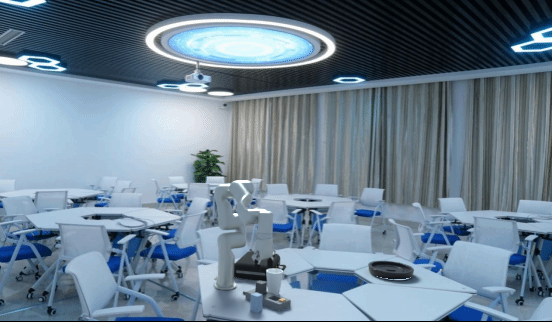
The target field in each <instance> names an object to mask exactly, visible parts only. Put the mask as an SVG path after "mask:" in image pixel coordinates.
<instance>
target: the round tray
mask: <svg viewBox="0 0 552 322" xmlns="http://www.w3.org/2000/svg"><path fill="white" fill-rule="evenodd" d="M368 271H369V273H370V274H371V275H372V274H373V275H375V276H374V277H376V276H378V277H382V278H388V279H406V278H410V277H411V278H412V277H413V276H414V272H415V269H414V267H412V266H410V265H408V264H405V263H402V262H398V261H391V260H374V261H370V262H369V263H368ZM373 275H372V276H373ZM378 277H377V278H378ZM382 278H381V279H382ZM411 278H410V279H411Z"/></svg>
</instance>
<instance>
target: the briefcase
mask: <svg viewBox="0 0 552 322" xmlns="http://www.w3.org/2000/svg"><path fill="white" fill-rule="evenodd" d="M253 254H254V251H252V250H251V251H250V250H249V251H247V252H245V253H244V254H243V256H241V257H240V258H239V259H238V260H237V261H235V265H234V279H235V278H236V279H240V280H241V279H243V280H250V279H251V281H252V280H253V281H259V280H260V281H264V282H267V275H266V270H268V269H271V268H268V267H267V260H269V259H268V258H267V259H263V260H261V262H260V272H255V263H254V262H253V259H252V255H253ZM257 261H258V260H257ZM279 267H282V268H279ZM272 269H280V270H282V271H283V272H284V271H285V270H286V269H287V265H286V264H281V256H280V254H278V253H275V257H274V260H273V268H272Z"/></svg>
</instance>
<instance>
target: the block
mask: <svg viewBox="0 0 552 322" xmlns="http://www.w3.org/2000/svg"><path fill="white" fill-rule="evenodd" d="M262 300H263V295H262V294H259V293H257V292H256V293H253V294H251V300H249V301H250V302H249V304H250V307H249V311H251V312H253V313H256V314H257V313H261V312H263V305H262Z"/></svg>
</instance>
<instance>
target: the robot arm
mask: <svg viewBox="0 0 552 322" xmlns="http://www.w3.org/2000/svg"><path fill="white" fill-rule="evenodd" d="M254 193H255V186H254V183H253V182H252V181H251V180H234V181H232V182H230V183H224V184H223V183H222V184H219V185H217V186H215V188H214V192H213V196H214V197H213V198H214V201H215V204H216V209H217V219H218V221H217V222H218V227H219V229H220V231H233V232H223V233H220V234H219V235H218V237H217V239H216V241H217V249H218V259H217V260H218V262H217V263H218V265H217V275H216V277H214V281H216V282H215V283H214V288H215V289H217V290H222V291H230V290H233V289H236V287H237V283H236V282H235V277H234V265H235V263H236V257H235V254H234V252H233V251H232V250H234V249H240V248H244V247H245V246H246V245H247V241H248V239H247V238H248V237H247V229H246V225H255V224H257V238H256V239H255V243H254V254H253V255H252V259H253V262H254V263H255V272H260V262H261V260H263V259H267V258H268V259H269V260H267V267H268V268H271V269H272V268H273V260H274V257H275V254H277V253H276V252H277V250H276V249H274V238H273V231H274V230H273V229H274V225H273V224H274V220H273V219H274V213H273V212H272V211H270V210H269V211H268V210H266V209H265V208H253V209H252V208H249V209H248V208H247V207H248V206H250V205H251V204H252V202H253V194H254ZM228 199H234V200H235V201H236V202H237V203H236V213H233V206H232V204H231V203H230V201H229V200H228ZM257 260H258V261H257Z"/></svg>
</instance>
